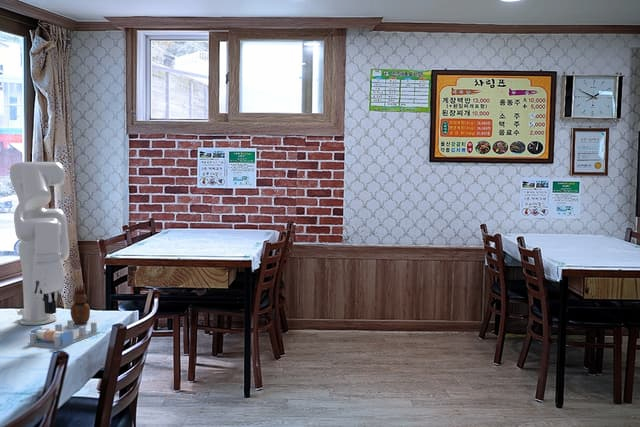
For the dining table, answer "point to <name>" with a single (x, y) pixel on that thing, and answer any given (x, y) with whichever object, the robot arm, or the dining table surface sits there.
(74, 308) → the wooden figurine
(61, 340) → the blue and grey tray
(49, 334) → the white rounded bar
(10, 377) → the dining table surface
